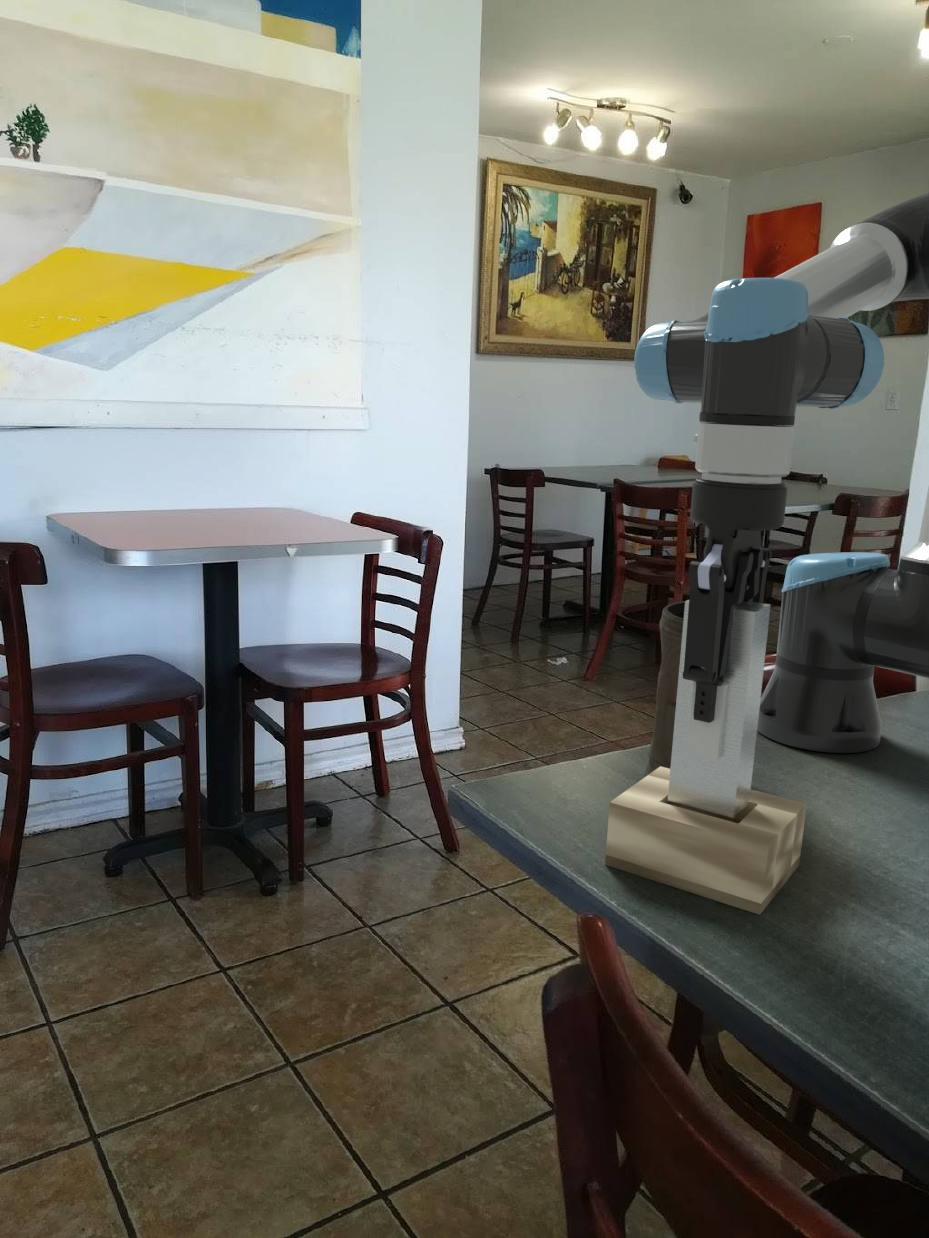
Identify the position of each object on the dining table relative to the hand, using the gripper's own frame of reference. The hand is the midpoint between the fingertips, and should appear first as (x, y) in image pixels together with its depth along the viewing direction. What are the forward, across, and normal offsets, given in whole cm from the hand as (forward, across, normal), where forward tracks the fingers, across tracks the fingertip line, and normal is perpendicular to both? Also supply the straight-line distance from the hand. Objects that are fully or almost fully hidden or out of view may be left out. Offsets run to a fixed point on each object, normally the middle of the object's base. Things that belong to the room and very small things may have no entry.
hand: (713, 746), depth 86 cm
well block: (+11, 0, 0) cm, 11 cm away
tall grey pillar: (+5, 0, 0) cm, 5 cm away
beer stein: (+11, -18, -8) cm, 23 cm away
